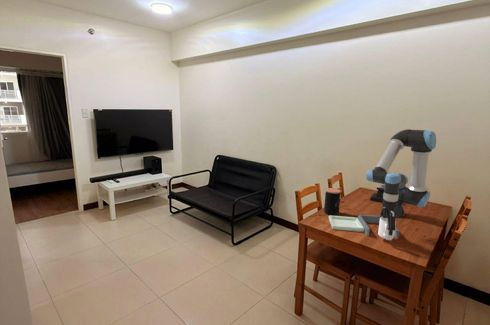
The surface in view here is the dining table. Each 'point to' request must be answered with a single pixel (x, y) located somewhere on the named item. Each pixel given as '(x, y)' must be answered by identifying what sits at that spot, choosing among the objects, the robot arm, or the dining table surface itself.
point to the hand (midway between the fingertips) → (385, 235)
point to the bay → (372, 219)
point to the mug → (384, 228)
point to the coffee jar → (332, 201)
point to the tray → (346, 223)
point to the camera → (378, 194)
